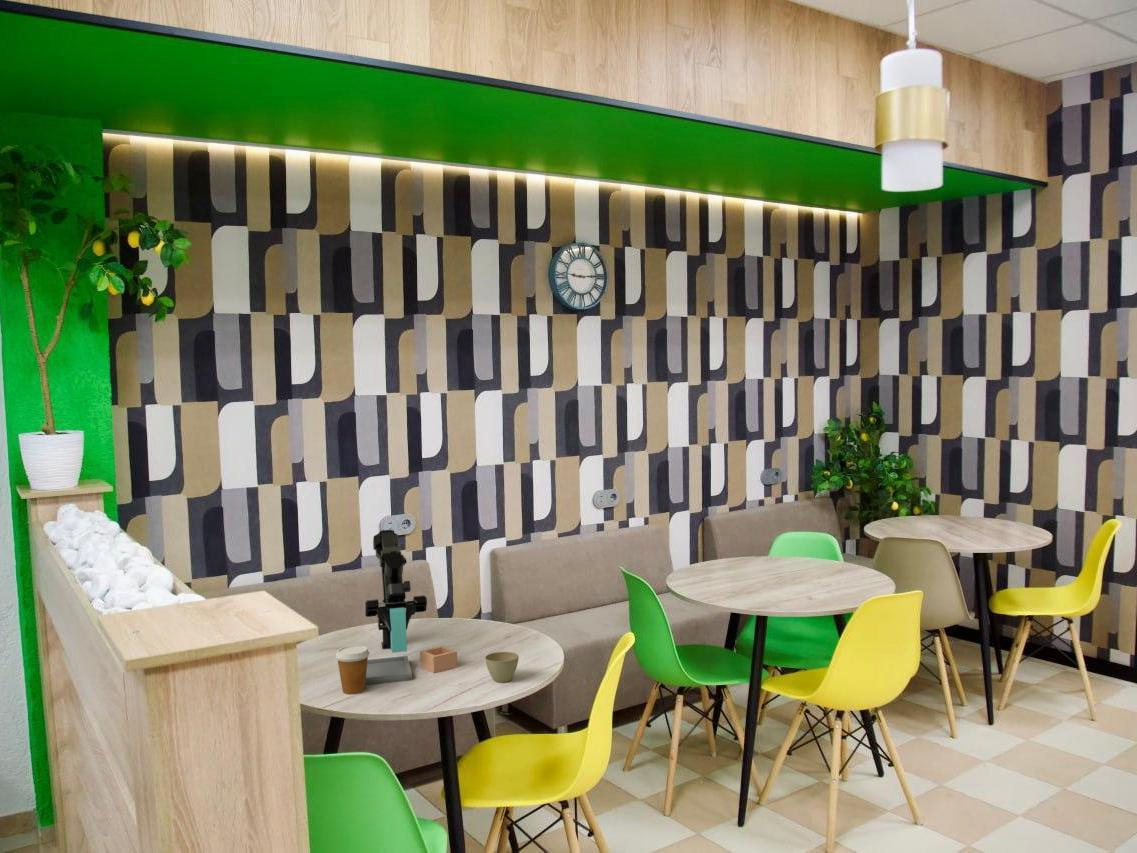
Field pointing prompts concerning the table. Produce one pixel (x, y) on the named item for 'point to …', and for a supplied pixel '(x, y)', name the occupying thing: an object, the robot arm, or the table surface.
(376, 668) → the tray
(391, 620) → the teal block
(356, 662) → the disposable coffee cup
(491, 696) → the table surface
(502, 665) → the flower pot
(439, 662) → the holder
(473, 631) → the table surface
